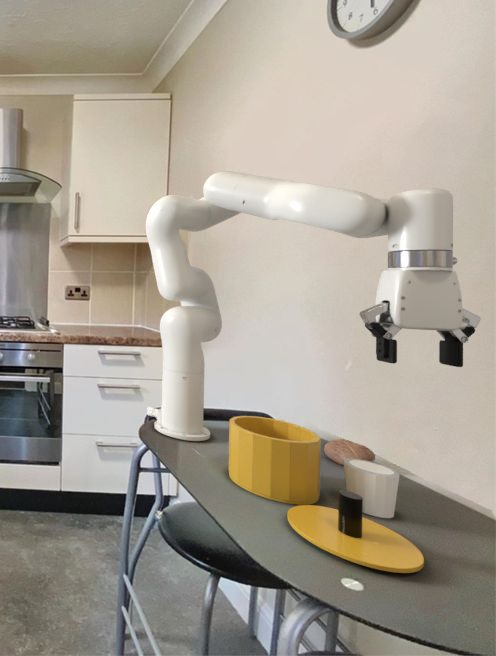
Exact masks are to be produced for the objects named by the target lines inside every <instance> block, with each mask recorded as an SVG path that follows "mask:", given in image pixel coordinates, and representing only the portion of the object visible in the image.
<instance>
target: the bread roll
mask: <svg viewBox="0 0 496 656" xmlns="http://www.w3.org/2000/svg"><path fill="white" fill-rule="evenodd" d="M323 448H324V449H323V451H324V454H325V456H326V457H327V458H329V459H330V460H331V461H333V462H335V463H337V464H338V465H340V466H343V467H344V460H345V459H360V460H366V461H370V462H374V461H375V460H376V454H375V453H374V451H372V450H371V449H370V448H369V447H367V446H366V445H363V444H360V443H356V442H353V441H352V440H348V439H342V438H341V439H332V440H329V441H328V442H326V443H325V445H324V447H323Z"/></svg>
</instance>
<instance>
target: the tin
mask: <svg viewBox="0 0 496 656" xmlns="http://www.w3.org/2000/svg"><path fill="white" fill-rule="evenodd" d="M228 428H229V429H228V430H229V432H228V468H227V469H228V476H229V478H230V479H231V481H232V482H233V483H235V484H236V485H237V486H239V487H240V488H242V489H244V490H245V491H248V492H249V493H252V494H254V495H256V496H259V497H262V498H264V499H267V500H271V501H274V502H279V503H283V504H288V505H289V504H290V505H296V506H300V505H314V504H316V503H318V502H319V500H320V496H321V456H322V455H321V452H322V451H321V450H322V449H321V448H322V447H321V446H322V438H321V437H320V436H319V435H318V433H317V432H314V431H313V430H311V429H308V428H307V427H304V426H301V425H298V424H295V423H293V422H288V421H285V420H280V419H276V418H271V417H270V418H269V417H263V416H255V415H238V416H237V415H236V416H232V417H231V418H230V419H229V426H228Z"/></svg>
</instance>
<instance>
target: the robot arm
mask: <svg viewBox="0 0 496 656" xmlns="http://www.w3.org/2000/svg"><path fill="white" fill-rule="evenodd" d="M202 195H203V197H201V198H199V199H197V198H194V197H190V196H186V195H182V194H168V195H164V196H162V197H160V198H159V199H158V200H157V201H155V202H154V203H153V205H152V206H151V207H150V208H149V211H148V213H147V215H146V218H145V226H144V227H145V233H146V239H147V242H148V246H149V250H150V255H151V262H152V266H153V271H154V275H155V280H156V286H157V290H158V293H159V294H160V296H161V297H162V298H163V299H165V300H167V301H171V302H180V305H178V306H174V307H171V308H168V309H167V310H166V311H165V312H164V313H163V314H162V316H161V318H160V320H159V333H160V335H159V336H160V341H161V348H162V366H161V367H162V369H161V371H162V372H161V374H162V375H161V407H160V408H156V407H154V406H150V405H149V406H147V408H146V414H147V416H149V417H153V418H155V419H156V420H155V421H154V422H153V424H154V425H153V426H154V430H156V431H157V432H159V433H160V434H162V435H164V436H168V437H169V438H172V439H177V440H181V441H190V442H203V441H208V440H209V439H210V438H211V431H210V430H209V429H208V428H207V427H205V426H204V411H205V410H204V406H205V403H204V401H205V367H206V366H205V365H206V364H205V355H204V351H203V346H202V343H208V342H212V341H213V340H215V339H217V338H218V336H219V335H220V334H221V332H222V327H223V320H222V315H221V309H220V306H219V302H218V298H217V293H216V289H215V286H214V282H213V280H212V278H211V276H210V275H209V274H208V273H207V271H205V270H204V269H203V268H200V267H197V266H192V265H191V263H190V260H189V256H188V251H187V247H186V244H185V242H184V240H183V238H182V236H181V235H180V231H181V230H182V231H186V232H192V233H195V232H201V231H204V230H207V229H210V228H212V227H215V226H217V225H218V224H220V223H223V222H225V221H227V220H230V219H231V218H233V217H236V216H237V215H240V214H246V215H250V216H254V217H258V218H261V219H262V218H263V219H265V220H266V219H267V220H271V221H278V220H283V221H288V222H293V223H298V224H302V225H307V226H311V227H315V228H319V229H323V230H327V231H331V232H335V233H339V234H341V235H345V236H348V237H352V238H356V239H371V238H377V237H383V236H387V269H386V270H382V271H381V274H380V276H379V279H378V284H377V288H376V295H375V303H374V305H372V306H370V307H368V308H366V309H364V310H361V311H360V312H359V316H360V318H361V319H362V323H364V327H365V328H366V329H367V330H368V331H369V333H371V336H372V337H373V338H375V355H376V360H377V361H379V362H383V363H388V364H397V362H398V341H397V339H393V338H394V337H395V336H396V335H397V334H398V333H399V332H400V331H401V330H403V329H404V330H405V329H406V330H422V331H436V332H437V333H438V334H439V335H440V336H441V338H442V339H440V340H439V343H438V346H439V347H438V358H439V359H438V362H439V364H441V365H444V366H449V367H450V366H451V367H456V368H463V366H464V344H466V343H468V342H469V338H470V337H471V336H472V335H474V333H475V332H476V328H477V327H478V326H479V324H480V322H481V319H482V318H481V317H480V315H477V314H475V313H473V312H472V311H469V310H467V309H465V308H463V299H462V291H461V286H460V281H459V278H458V274H457V271H454V266H455V265H457V263H458V258H456V257H455V256H454V196H453V193H451V191H449V190H447V189H444V188H435V187H433V188H419V189H411V190H405V191H400V192H398V193H395V194H394V195H392V196H391V197H390V198H377V197H374V196H372V195H371V194H368V193H366V192H362V191H359V190H354V189H353V190H352V189H346V188H341V187H335V186H328V185H322V184H315V183H309V182H300V181H295V180H288V179H287V180H286V179H280V178H273V177H269V176H261V175H256V174H250V173H244V172H237V171H229V170H223V171H217V172H215V173H213V174H211V175H210V176H209V177H208V178H207V179H206V180H205V182H204V184H203V187H202ZM179 230H180V231H179Z"/></svg>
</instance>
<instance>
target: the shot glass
mask: <svg viewBox="0 0 496 656" xmlns="http://www.w3.org/2000/svg"><path fill="white" fill-rule="evenodd" d="M343 467H344V476H345V477H344V479H345V487H346V491H350V492H353V493H356V494H358V495H360V496H361V497H362V498H363V513H364V514H366V515H370V516H373V517H377V518H381V519H392V518H394V517H395V511H396V504H397V497H398V496H397V495H398V489H399V482H400V472H398V471H397V470H395V469H393V468H391V467H389V466H386V465H384V464H380V463H378V462H374V461H372V462H370V461H366V460H360V459H345V460H344V466H343Z"/></svg>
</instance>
